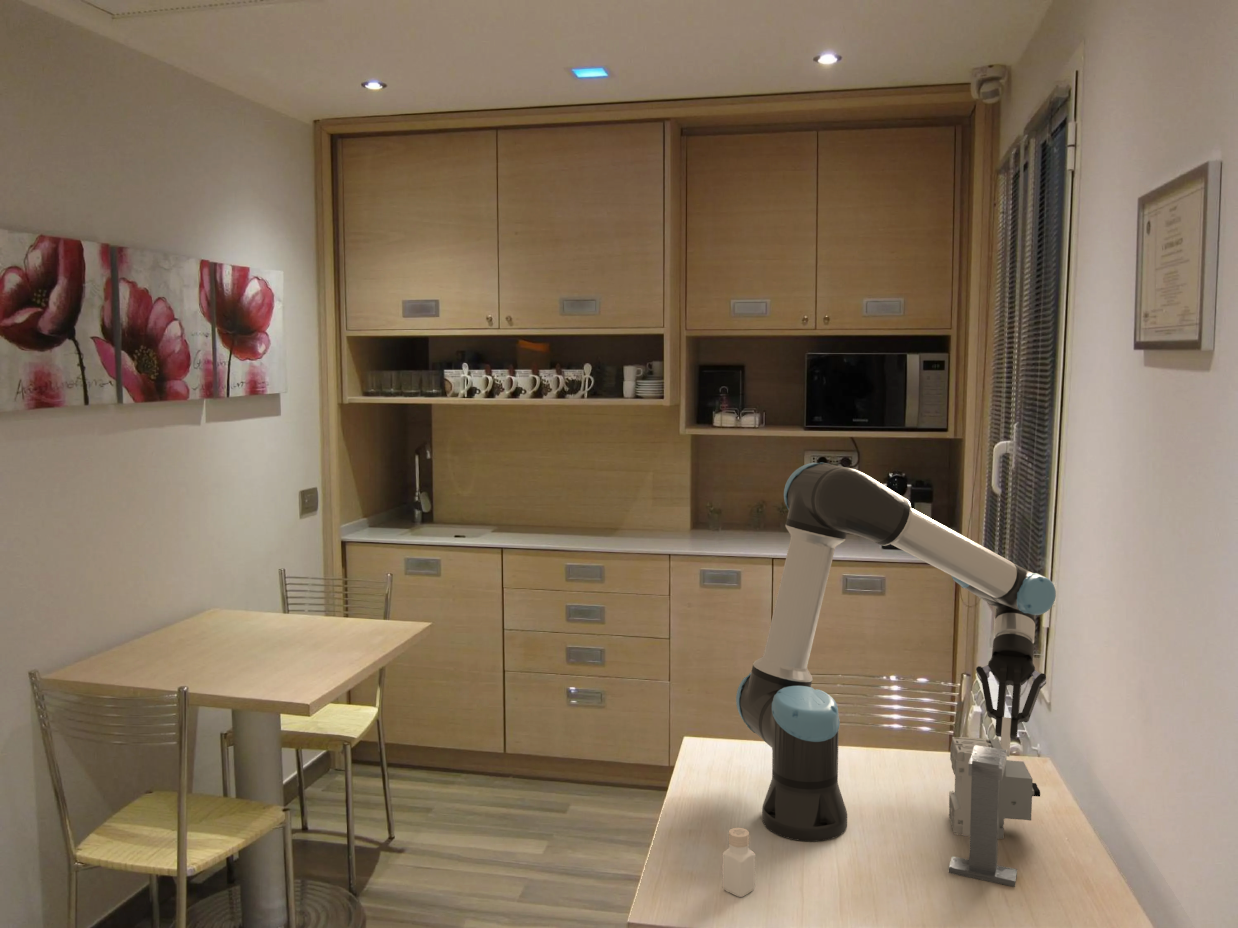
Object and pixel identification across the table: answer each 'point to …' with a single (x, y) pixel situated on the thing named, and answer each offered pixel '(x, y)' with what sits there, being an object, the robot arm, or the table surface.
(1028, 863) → the table surface
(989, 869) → the bracket
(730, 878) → the pepper shaker
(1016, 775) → the circuit breaker
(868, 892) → the table surface
